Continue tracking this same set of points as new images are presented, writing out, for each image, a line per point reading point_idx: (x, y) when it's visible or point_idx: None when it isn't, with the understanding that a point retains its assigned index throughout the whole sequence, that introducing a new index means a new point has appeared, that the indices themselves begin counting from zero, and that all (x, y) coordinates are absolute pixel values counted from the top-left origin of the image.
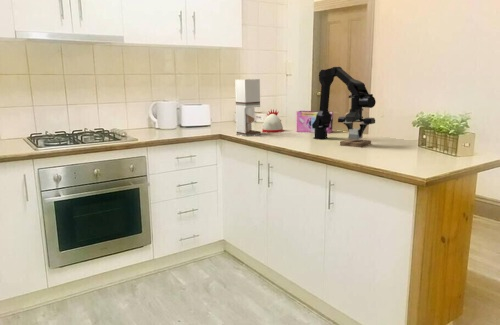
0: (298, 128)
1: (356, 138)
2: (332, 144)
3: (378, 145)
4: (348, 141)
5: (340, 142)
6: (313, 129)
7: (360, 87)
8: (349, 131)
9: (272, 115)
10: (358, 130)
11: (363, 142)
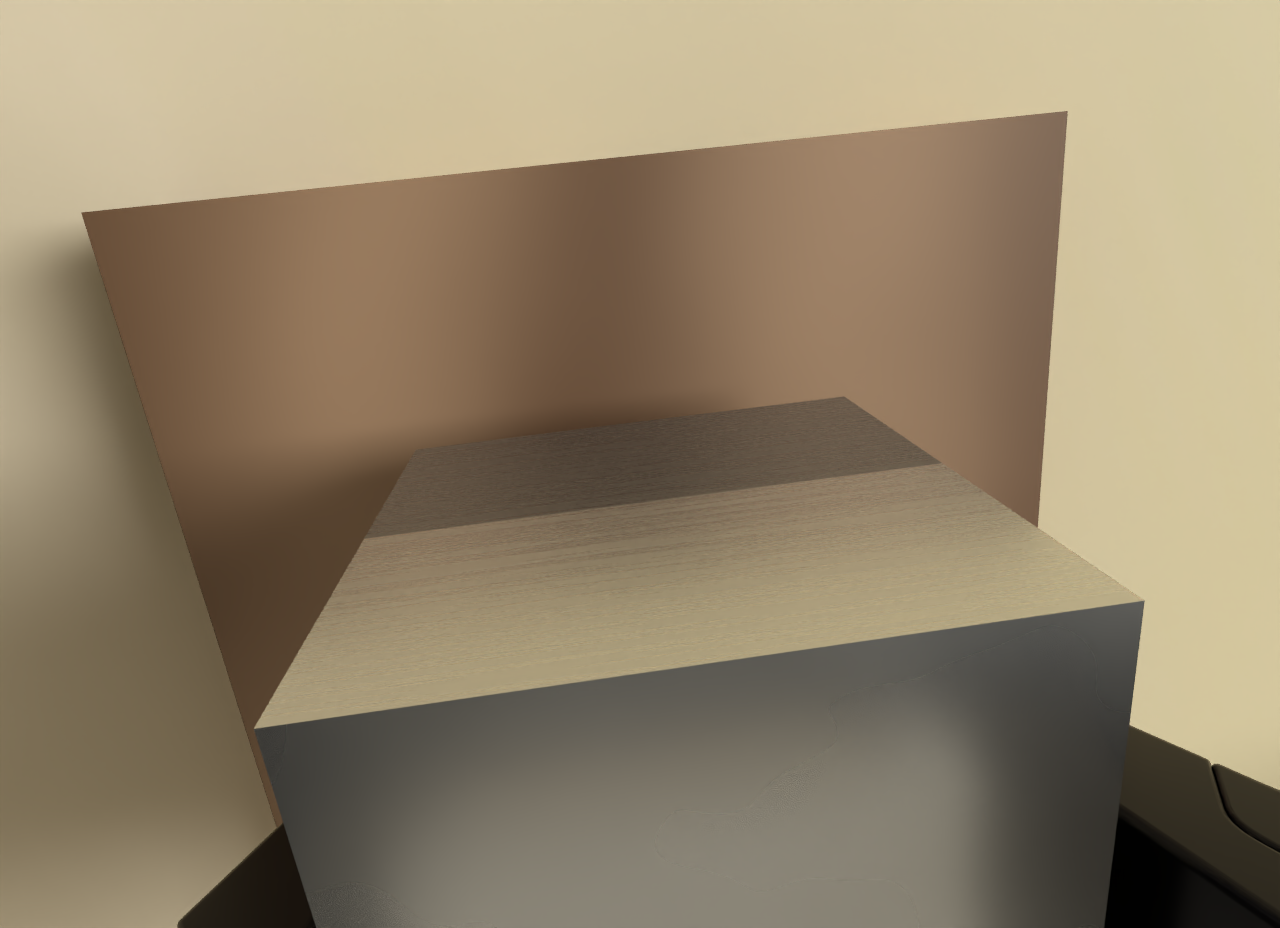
0: None
1: (460, 452)
2: (1275, 142)
3: (63, 843)
4: (802, 355)
5: (1028, 117)
6: None
7: None
8: (985, 532)
9: None
10: (307, 796)
11: (218, 502)
